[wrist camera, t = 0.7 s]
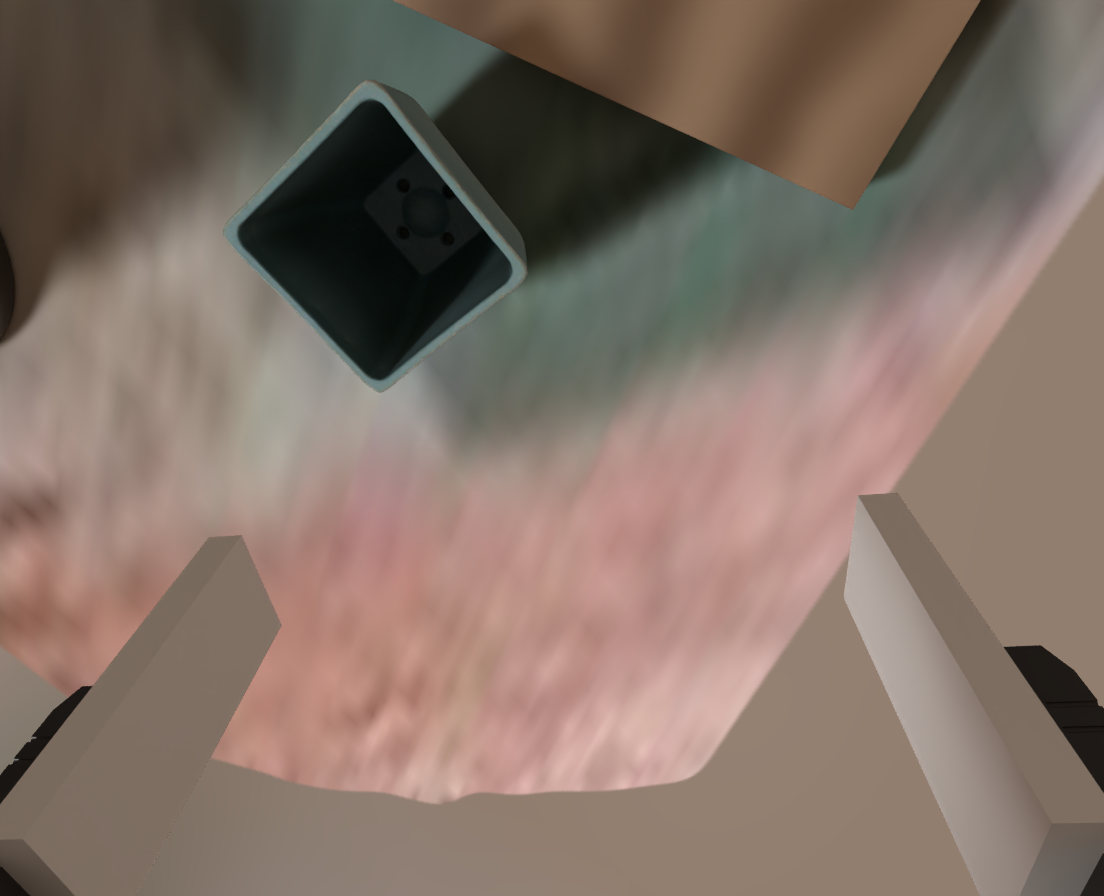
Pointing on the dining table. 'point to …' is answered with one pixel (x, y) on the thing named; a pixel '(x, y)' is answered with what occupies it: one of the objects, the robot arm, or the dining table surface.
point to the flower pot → (379, 236)
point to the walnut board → (741, 69)
